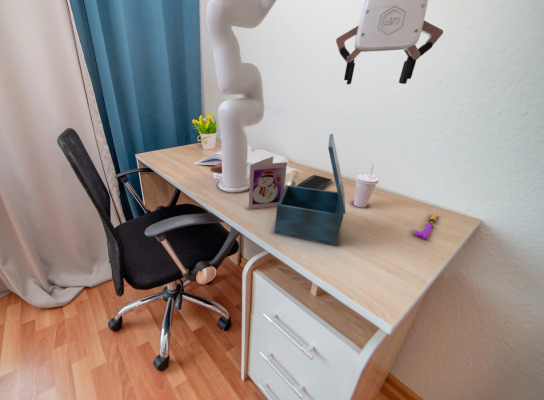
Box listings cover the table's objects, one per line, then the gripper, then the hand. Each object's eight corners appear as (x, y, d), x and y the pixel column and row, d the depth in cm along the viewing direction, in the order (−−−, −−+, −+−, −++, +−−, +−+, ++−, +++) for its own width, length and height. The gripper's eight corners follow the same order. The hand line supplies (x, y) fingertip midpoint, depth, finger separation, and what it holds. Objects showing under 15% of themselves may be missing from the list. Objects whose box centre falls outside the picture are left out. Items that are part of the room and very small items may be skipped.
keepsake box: (274, 233, 66) (277, 205, 62) (283, 209, 77) (286, 184, 73) (336, 246, 61) (343, 216, 56) (336, 219, 72) (342, 192, 68)
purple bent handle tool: (426, 240, 62) (437, 217, 71) (427, 235, 61) (437, 213, 71) (413, 237, 63) (425, 215, 73) (414, 233, 63) (426, 212, 73)
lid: (328, 147, 51) (332, 146, 51) (329, 134, 62) (332, 133, 62) (341, 214, 56) (345, 214, 56) (341, 191, 68) (344, 190, 67)
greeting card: (249, 210, 77) (251, 165, 70) (244, 199, 84) (245, 158, 77) (283, 206, 79) (288, 163, 72) (275, 196, 85) (279, 155, 78)
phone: (296, 185, 90) (313, 174, 100) (295, 188, 91) (313, 177, 100) (316, 191, 85) (332, 179, 95) (315, 194, 86) (332, 181, 96)
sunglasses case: (233, 159, 122) (239, 149, 118) (243, 168, 121) (249, 158, 116) (209, 169, 110) (214, 158, 106) (219, 179, 109) (225, 169, 104)
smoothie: (373, 210, 76) (386, 168, 69) (351, 208, 77) (362, 167, 70) (367, 201, 81) (378, 161, 75) (347, 199, 82) (356, 160, 76)
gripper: (346, -25, 41) (328, 85, 49) (475, -45, 35) (432, 83, 43) (344, -12, 48) (329, 83, 55) (454, -28, 42) (420, 82, 49)
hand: (374, 83), depth 49 cm, fingers open, 9 cm apart
